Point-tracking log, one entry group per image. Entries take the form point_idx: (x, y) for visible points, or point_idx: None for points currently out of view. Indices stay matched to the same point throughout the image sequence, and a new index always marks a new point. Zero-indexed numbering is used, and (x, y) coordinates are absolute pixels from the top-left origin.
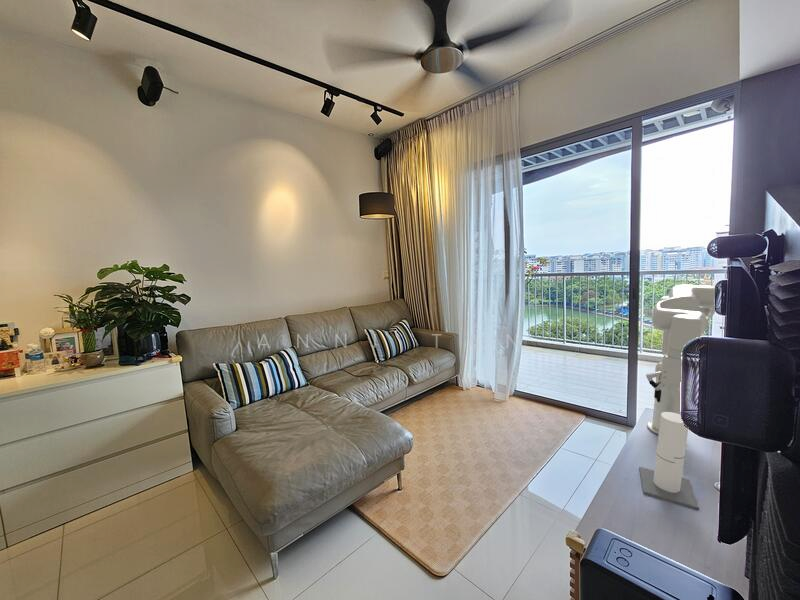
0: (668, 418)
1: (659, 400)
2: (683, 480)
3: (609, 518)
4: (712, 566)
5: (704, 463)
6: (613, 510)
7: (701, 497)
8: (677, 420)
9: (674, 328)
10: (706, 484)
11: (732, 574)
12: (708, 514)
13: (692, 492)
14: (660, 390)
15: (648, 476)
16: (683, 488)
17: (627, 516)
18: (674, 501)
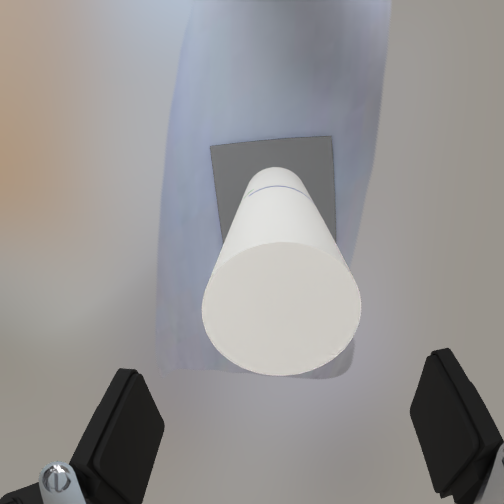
0: (244, 352)
1: (156, 437)
2: (317, 148)
3: (181, 358)
4: (322, 372)
5: (372, 21)
6: (182, 338)
7: (349, 192)
8: (292, 352)
9: None
10: (368, 124)
11: (344, 371)
12: (350, 251)
13: (332, 194)
14: (125, 497)
15: (233, 183)
16: (314, 188)
17: (205, 340)
18: None
